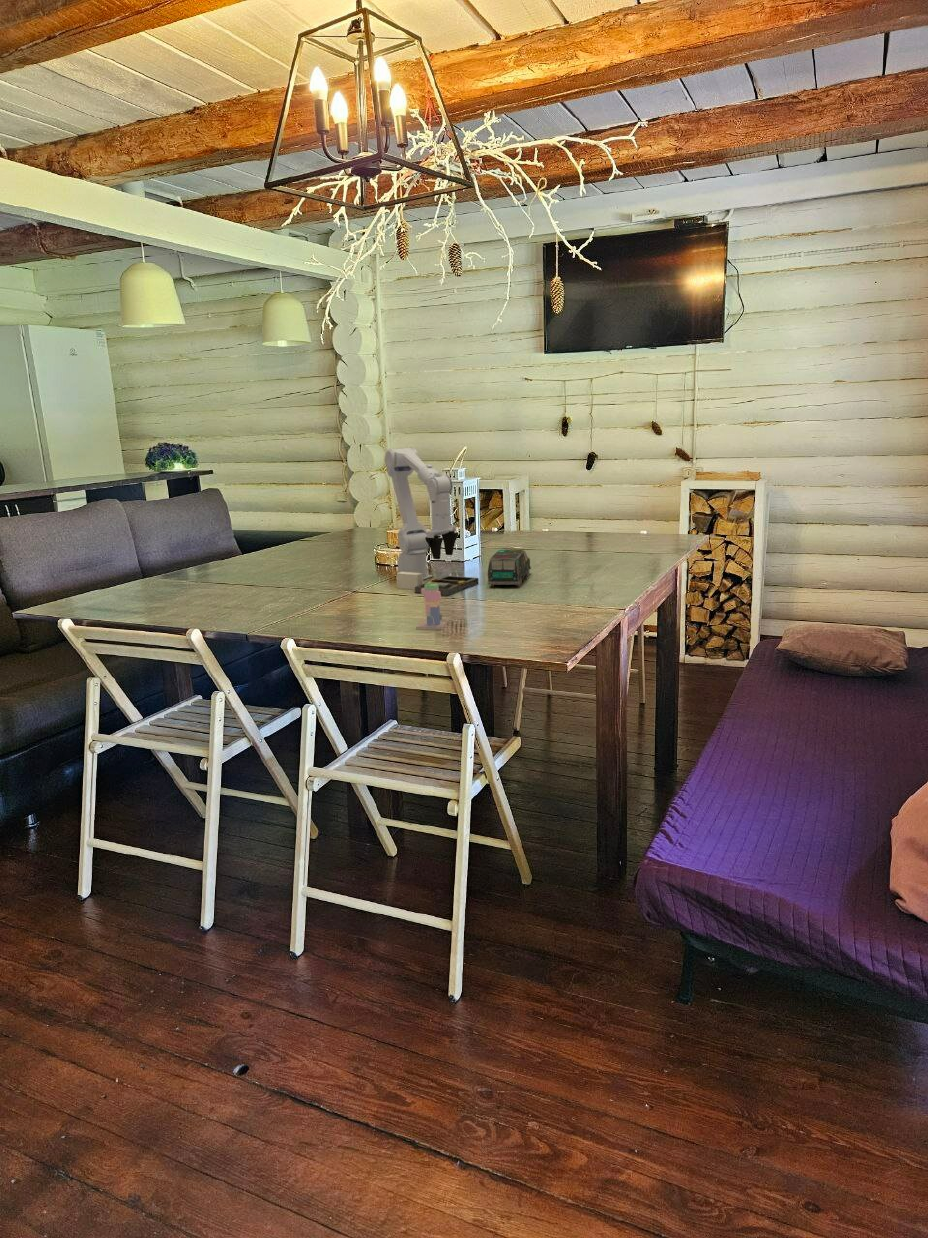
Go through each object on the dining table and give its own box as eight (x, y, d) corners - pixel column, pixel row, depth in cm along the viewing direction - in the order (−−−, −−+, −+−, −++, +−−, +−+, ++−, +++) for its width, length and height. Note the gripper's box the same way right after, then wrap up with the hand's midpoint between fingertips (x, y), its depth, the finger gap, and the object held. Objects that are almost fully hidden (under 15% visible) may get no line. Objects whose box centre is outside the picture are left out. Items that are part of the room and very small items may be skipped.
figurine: (446, 624, 225) (444, 579, 222) (441, 629, 220) (439, 584, 217) (421, 623, 227) (419, 579, 224) (416, 629, 221) (413, 584, 219)
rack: (415, 593, 265) (414, 584, 264) (447, 581, 281) (447, 573, 280) (447, 596, 259) (446, 587, 258) (478, 583, 274) (478, 575, 274)
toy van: (531, 573, 288) (530, 544, 286) (519, 589, 265) (518, 557, 262) (500, 573, 290) (499, 545, 288) (486, 589, 267) (485, 558, 265)
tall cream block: (397, 588, 274) (396, 573, 273) (402, 586, 276) (402, 571, 275) (417, 590, 270) (417, 574, 268) (423, 588, 272) (422, 573, 271)
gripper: (439, 518, 260) (441, 561, 263) (463, 512, 272) (465, 553, 275) (420, 517, 263) (422, 560, 267) (444, 511, 275) (446, 552, 279)
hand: (443, 556), depth 271 cm, fingers open, 7 cm apart
